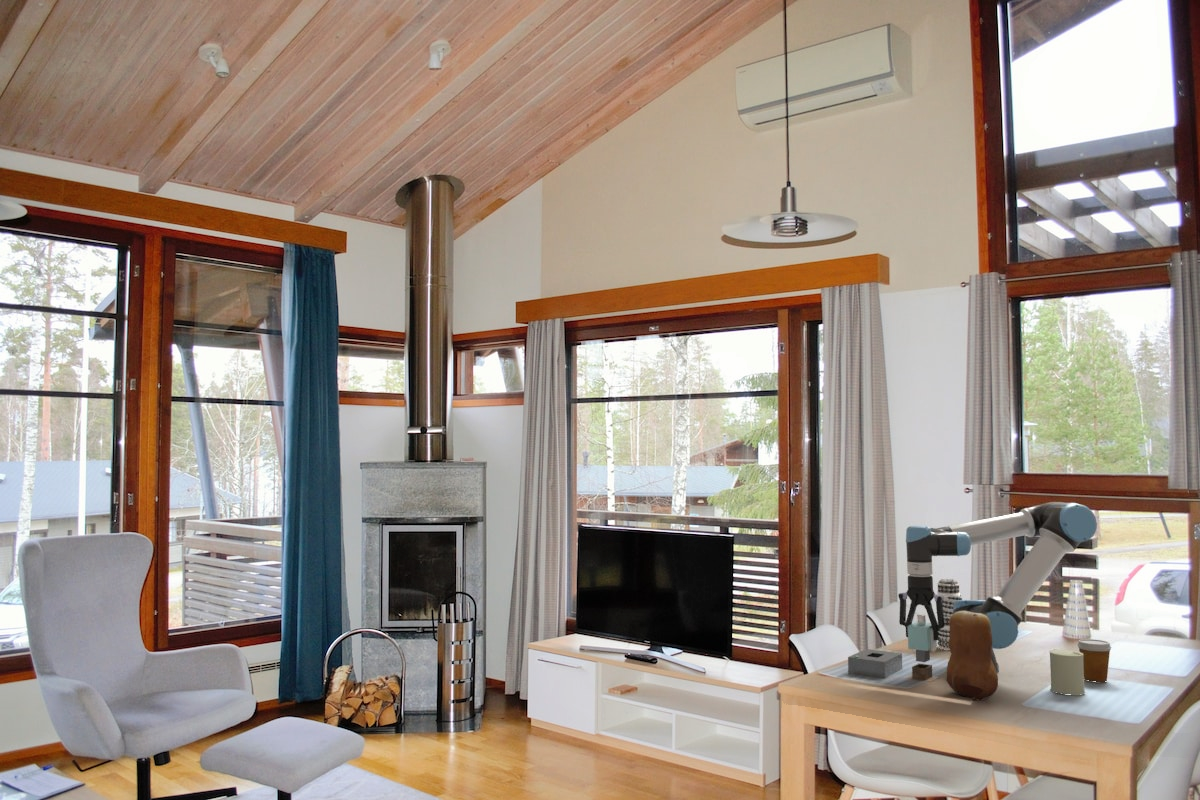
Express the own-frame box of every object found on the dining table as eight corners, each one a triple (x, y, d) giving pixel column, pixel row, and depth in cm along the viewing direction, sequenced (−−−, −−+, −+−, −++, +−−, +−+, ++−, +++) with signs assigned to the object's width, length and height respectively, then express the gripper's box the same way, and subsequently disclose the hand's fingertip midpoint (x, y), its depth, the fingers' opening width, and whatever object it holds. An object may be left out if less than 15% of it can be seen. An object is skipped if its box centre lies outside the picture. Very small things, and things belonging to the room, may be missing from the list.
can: (1083, 697, 268) (1082, 655, 269) (1048, 693, 273) (1047, 652, 273) (1086, 690, 276) (1084, 650, 276) (1052, 686, 280) (1051, 646, 281)
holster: (939, 680, 289) (938, 665, 289) (931, 684, 283) (931, 670, 283) (913, 676, 294) (913, 662, 294) (905, 681, 287) (905, 666, 288)
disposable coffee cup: (1100, 685, 282) (1098, 645, 283) (1071, 679, 290) (1070, 640, 291) (1119, 682, 286) (1118, 643, 287) (1090, 675, 295) (1089, 637, 295)
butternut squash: (993, 694, 272) (991, 608, 273) (1002, 705, 259) (1000, 615, 260) (943, 691, 275) (941, 606, 276) (950, 702, 262) (948, 614, 263)
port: (902, 672, 300) (901, 652, 300) (885, 681, 287) (884, 660, 288) (866, 667, 307) (866, 648, 308) (848, 676, 294) (847, 656, 295)
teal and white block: (937, 658, 290) (935, 614, 291) (928, 664, 283) (926, 618, 284) (918, 656, 294) (916, 612, 295) (908, 661, 287) (907, 616, 288)
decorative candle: (965, 647, 339) (963, 579, 341) (960, 651, 331) (958, 582, 333) (940, 645, 344) (938, 577, 346) (934, 649, 336) (932, 580, 338)
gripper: (886, 574, 293) (888, 648, 291) (947, 578, 282) (950, 655, 280) (894, 572, 299) (896, 644, 297) (954, 575, 288) (957, 650, 286)
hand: (922, 649), depth 289 cm, fingers closed on teal and white block, 6 cm apart
